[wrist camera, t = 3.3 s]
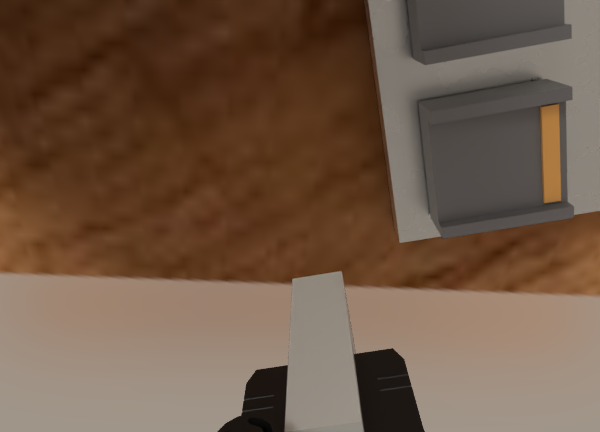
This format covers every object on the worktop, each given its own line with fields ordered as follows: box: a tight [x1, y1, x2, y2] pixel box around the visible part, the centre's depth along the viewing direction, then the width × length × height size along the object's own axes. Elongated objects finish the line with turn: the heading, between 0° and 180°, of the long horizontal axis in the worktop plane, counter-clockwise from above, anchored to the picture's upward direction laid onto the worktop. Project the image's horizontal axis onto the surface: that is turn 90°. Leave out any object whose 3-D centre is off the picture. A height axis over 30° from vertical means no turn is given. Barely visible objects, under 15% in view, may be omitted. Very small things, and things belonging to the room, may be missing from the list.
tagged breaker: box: [418, 79, 574, 239], centre depth 28 cm, size 6×6×3 cm
